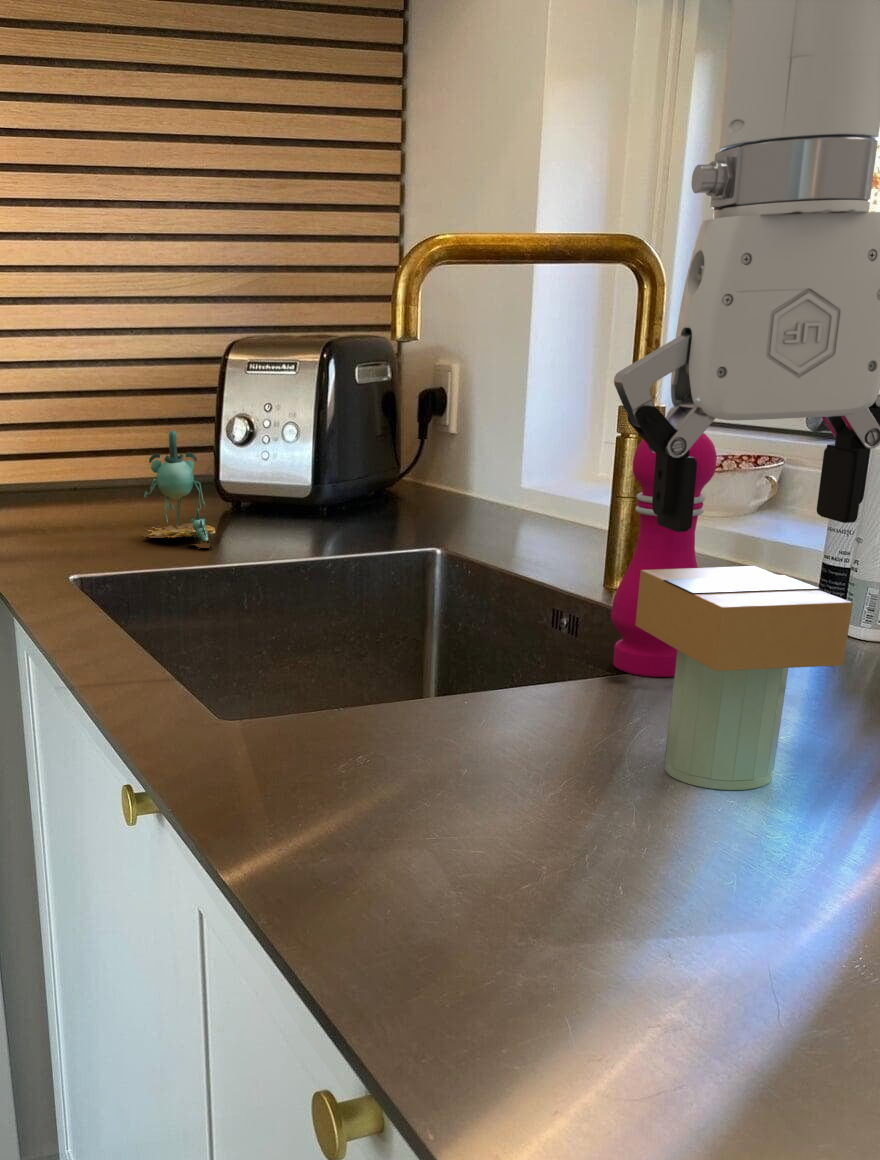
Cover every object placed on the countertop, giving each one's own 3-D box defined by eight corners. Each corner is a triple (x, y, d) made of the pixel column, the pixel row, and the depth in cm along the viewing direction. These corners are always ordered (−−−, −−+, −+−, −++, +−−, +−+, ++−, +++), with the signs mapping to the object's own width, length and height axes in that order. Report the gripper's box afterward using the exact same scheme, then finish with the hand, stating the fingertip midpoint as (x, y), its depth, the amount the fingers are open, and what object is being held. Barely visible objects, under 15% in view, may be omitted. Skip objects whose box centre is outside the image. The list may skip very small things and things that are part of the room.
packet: (634, 625, 76) (640, 568, 74) (748, 621, 77) (755, 564, 75) (714, 671, 66) (721, 606, 64) (843, 665, 66) (854, 601, 65)
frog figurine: (151, 554, 149) (141, 428, 145) (135, 547, 166) (125, 434, 162) (228, 549, 151) (220, 425, 147) (204, 543, 168) (196, 431, 164)
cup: (741, 753, 77) (758, 630, 74) (791, 787, 71) (811, 655, 69) (648, 758, 77) (661, 634, 74) (690, 792, 71) (706, 659, 68)
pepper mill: (660, 652, 101) (686, 400, 94) (720, 673, 95) (753, 405, 88) (588, 661, 99) (609, 403, 92) (645, 683, 92) (673, 408, 85)
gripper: (660, 183, 58) (633, 543, 64) (997, 175, 60) (939, 526, 66) (603, 198, 65) (584, 521, 71) (906, 190, 67) (861, 507, 73)
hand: (755, 523), depth 69 cm, fingers open, 9 cm apart
